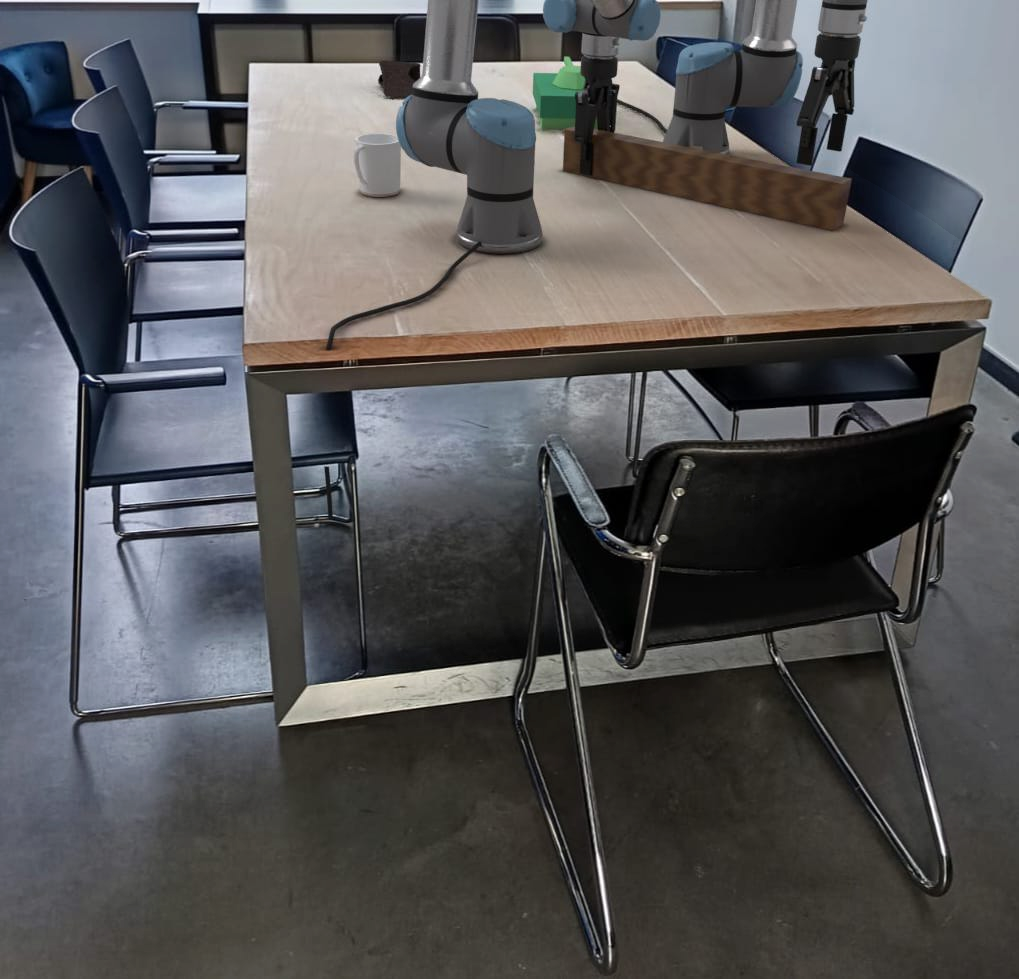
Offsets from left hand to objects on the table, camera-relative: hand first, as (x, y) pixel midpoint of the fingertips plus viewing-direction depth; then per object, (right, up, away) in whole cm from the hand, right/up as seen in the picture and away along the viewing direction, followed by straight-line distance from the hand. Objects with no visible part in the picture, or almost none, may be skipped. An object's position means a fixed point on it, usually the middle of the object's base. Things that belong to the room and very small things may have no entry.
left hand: (592, 171), depth 234 cm
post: (+20, -9, -12) cm, 25 cm away
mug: (-44, -9, -15) cm, 48 cm away
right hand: (+40, -6, -31) cm, 51 cm away
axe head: (-47, +41, +67) cm, 91 cm away
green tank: (-3, +27, +45) cm, 52 cm away
